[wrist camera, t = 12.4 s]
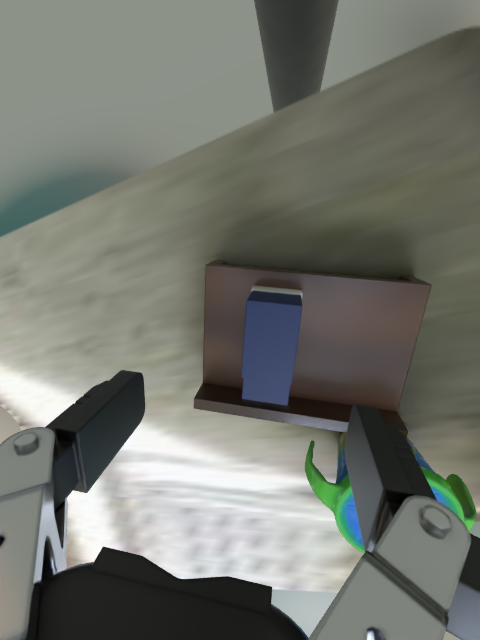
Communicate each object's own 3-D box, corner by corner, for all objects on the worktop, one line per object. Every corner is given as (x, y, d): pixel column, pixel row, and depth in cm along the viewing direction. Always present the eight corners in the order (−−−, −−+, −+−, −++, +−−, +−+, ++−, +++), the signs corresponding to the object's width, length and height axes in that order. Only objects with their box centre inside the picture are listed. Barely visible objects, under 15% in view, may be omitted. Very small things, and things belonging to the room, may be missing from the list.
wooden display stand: (215, 259, 32) (195, 269, 25) (414, 276, 29) (449, 292, 22) (211, 375, 36) (193, 408, 30) (383, 399, 34) (405, 442, 27)
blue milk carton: (253, 285, 28) (245, 297, 23) (302, 290, 27) (304, 303, 23) (245, 387, 31) (237, 414, 27) (288, 393, 31) (287, 422, 26)
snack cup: (293, 453, 38) (292, 531, 28) (320, 384, 34) (331, 447, 25) (415, 494, 37) (458, 589, 27) (457, 427, 33) (524, 510, 23)
